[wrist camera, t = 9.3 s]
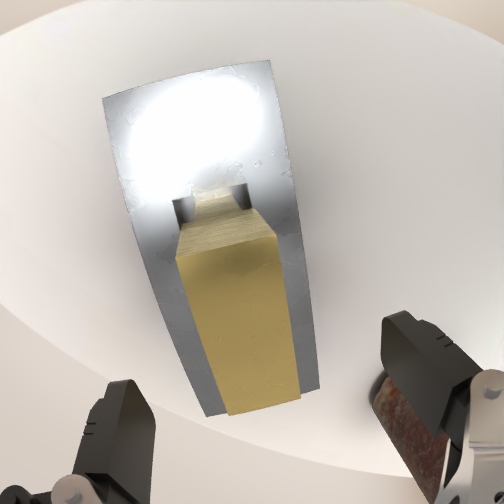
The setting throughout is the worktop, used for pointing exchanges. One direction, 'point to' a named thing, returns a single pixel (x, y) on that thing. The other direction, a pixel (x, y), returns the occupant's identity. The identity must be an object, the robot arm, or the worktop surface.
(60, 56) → the worktop surface
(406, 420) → the brown cylinder
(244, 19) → the worktop surface
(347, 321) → the worktop surface
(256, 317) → the yellow block
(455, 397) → the robot arm
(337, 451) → the worktop surface
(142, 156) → the grey slotted base
